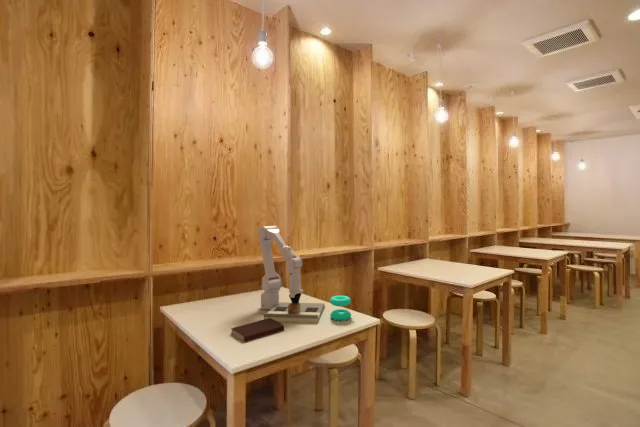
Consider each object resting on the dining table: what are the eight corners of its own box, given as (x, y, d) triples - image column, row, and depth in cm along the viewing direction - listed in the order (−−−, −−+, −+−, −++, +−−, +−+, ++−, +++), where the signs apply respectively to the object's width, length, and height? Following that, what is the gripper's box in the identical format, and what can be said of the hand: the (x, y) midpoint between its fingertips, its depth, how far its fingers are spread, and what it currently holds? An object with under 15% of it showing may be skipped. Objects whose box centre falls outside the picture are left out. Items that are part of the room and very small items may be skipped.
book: (284, 331, 147) (284, 324, 147) (244, 343, 134) (244, 335, 134) (269, 324, 156) (269, 317, 156) (230, 335, 144) (230, 327, 144)
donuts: (346, 301, 155) (326, 298, 160) (346, 322, 155) (326, 319, 160) (353, 295, 164) (335, 293, 168) (354, 316, 164) (335, 313, 169)
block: (288, 314, 163) (287, 306, 163) (290, 311, 168) (290, 303, 168) (298, 314, 162) (298, 306, 162) (300, 311, 167) (300, 303, 167)
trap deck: (263, 321, 159) (263, 313, 159) (277, 305, 184) (277, 299, 184) (317, 322, 155) (317, 315, 155) (324, 307, 180) (324, 300, 180)
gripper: (300, 284, 161) (300, 312, 161) (305, 278, 175) (305, 304, 175) (285, 284, 162) (286, 312, 162) (292, 278, 176) (292, 304, 176)
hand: (295, 308), depth 169 cm, fingers closed
